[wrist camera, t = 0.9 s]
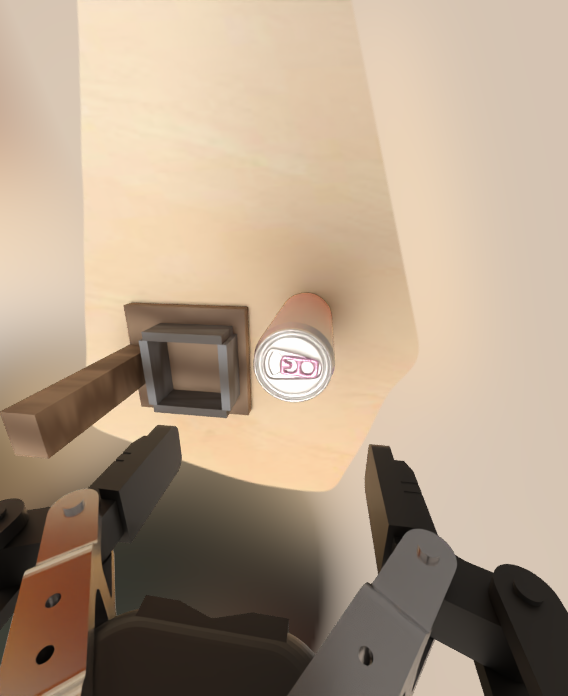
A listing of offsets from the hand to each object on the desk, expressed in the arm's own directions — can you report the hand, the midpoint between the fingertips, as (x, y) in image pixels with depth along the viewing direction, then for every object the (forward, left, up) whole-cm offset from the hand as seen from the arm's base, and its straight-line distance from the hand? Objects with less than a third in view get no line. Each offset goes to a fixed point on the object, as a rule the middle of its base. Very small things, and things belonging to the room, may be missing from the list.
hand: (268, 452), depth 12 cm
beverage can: (0, 0, -24) cm, 24 cm away
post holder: (+6, -15, -24) cm, 29 cm away
